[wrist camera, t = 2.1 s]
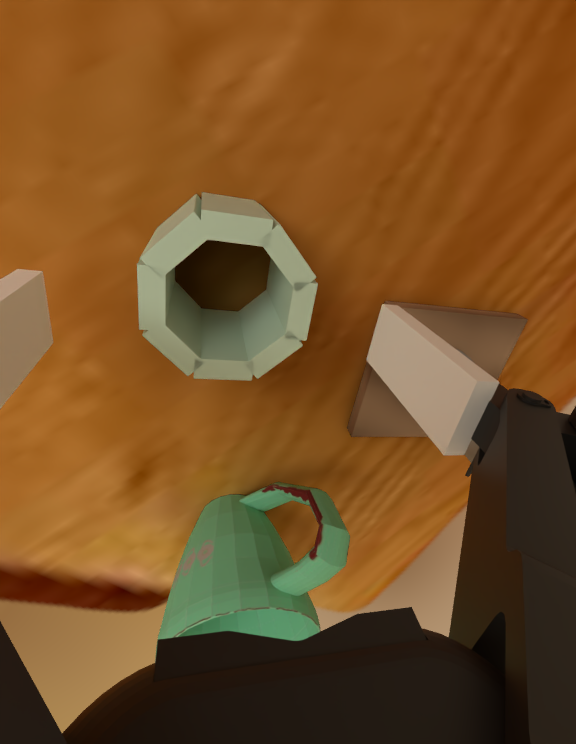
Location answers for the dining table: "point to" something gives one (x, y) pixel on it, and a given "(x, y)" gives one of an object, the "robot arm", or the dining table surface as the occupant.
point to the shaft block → (463, 332)
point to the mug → (253, 568)
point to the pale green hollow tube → (220, 327)
